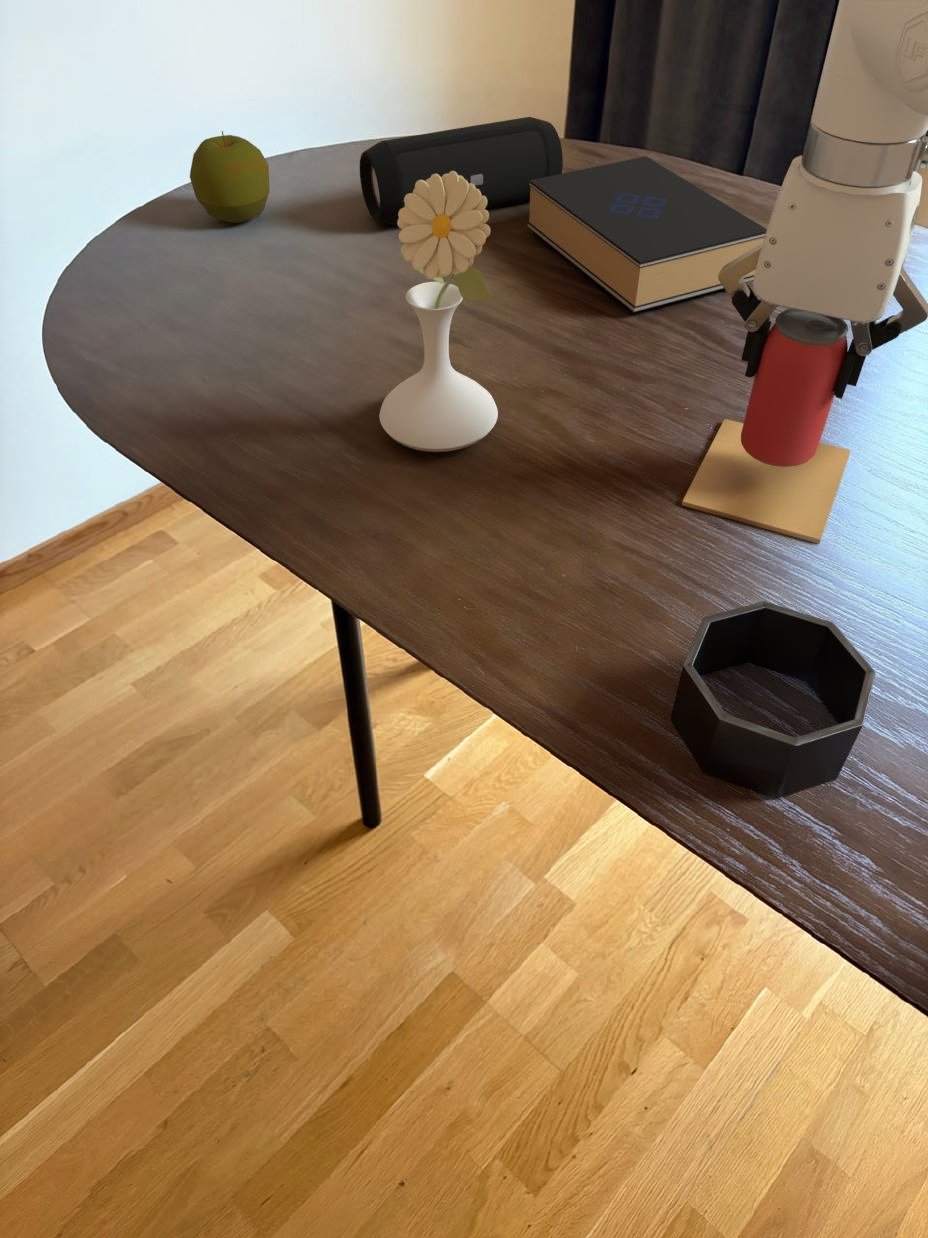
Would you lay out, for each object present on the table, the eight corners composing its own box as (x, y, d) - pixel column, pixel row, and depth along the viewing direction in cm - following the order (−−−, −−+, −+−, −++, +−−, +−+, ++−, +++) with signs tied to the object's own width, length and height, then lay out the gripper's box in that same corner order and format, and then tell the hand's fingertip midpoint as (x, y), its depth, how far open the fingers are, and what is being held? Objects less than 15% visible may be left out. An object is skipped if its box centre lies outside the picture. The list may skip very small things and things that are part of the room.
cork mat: (849, 454, 88) (851, 449, 87) (819, 544, 79) (820, 539, 79) (723, 422, 91) (724, 418, 91) (681, 505, 83) (682, 501, 82)
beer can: (823, 470, 80) (865, 344, 72) (746, 470, 80) (779, 344, 72) (805, 426, 85) (842, 302, 76) (732, 426, 85) (761, 302, 76)
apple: (188, 230, 123) (168, 141, 115) (217, 200, 129) (200, 114, 121) (260, 237, 121) (245, 147, 113) (286, 206, 127) (273, 119, 120)
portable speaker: (385, 241, 120) (379, 159, 112) (360, 211, 126) (353, 132, 119) (563, 206, 126) (568, 127, 119) (531, 180, 133) (534, 103, 126)
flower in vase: (358, 422, 92) (329, 155, 74) (450, 382, 97) (445, 123, 79) (436, 487, 85) (425, 210, 67) (532, 441, 89) (546, 170, 71)
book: (639, 207, 126) (646, 155, 121) (757, 285, 110) (769, 230, 106) (526, 232, 121) (528, 179, 116) (633, 319, 105) (640, 262, 101)
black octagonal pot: (858, 693, 68) (884, 637, 63) (826, 819, 61) (853, 765, 56) (701, 642, 71) (716, 586, 67) (654, 755, 64) (667, 700, 60)
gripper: (999, 153, 64) (911, 381, 77) (749, 117, 70) (706, 335, 83) (989, 194, 60) (898, 429, 73) (722, 151, 65) (681, 377, 78)
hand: (796, 377), depth 77 cm, fingers closed on beer can, 6 cm apart
